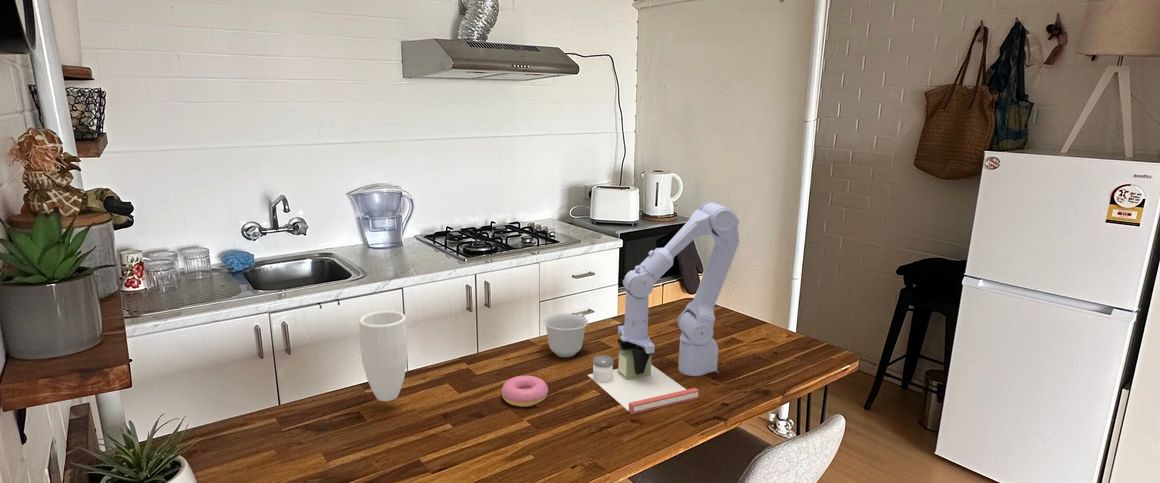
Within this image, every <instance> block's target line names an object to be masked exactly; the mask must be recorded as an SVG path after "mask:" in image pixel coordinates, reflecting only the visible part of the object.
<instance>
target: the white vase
mask: <svg viewBox="0 0 1160 483" xmlns="http://www.w3.org/2000/svg"><path fill="white" fill-rule="evenodd" d="M406 317H407V316H406V315H405V314H404V313H402V312H399V311H396V310H382V311H379V310H378V311H374V312H370V313H367V314H365V315H363V316H362V317H361V318H360V319H359V322H358V324H359V345H360V346H359V347H360V354H361V361H362V362H361V363H362V366H363V370H364V372H365V377H366V380H367V382H368V384H369V386H370V389H371V390H372V392H373V394H374V396H375V399H377V400H378V401H381V402H390V401H393V400H396V399H397V398H398V397H399V395H400V392H401V390H402V386H403V383H404V379H405V377H406V376H405V375H406V371H407V364H408V331H407V320H406Z"/></svg>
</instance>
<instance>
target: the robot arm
mask: <svg viewBox="0 0 1160 483" xmlns="http://www.w3.org/2000/svg"><path fill="white" fill-rule="evenodd" d="M739 223H740V219H739V218H738V216H737V215H736V213H735V211H734V210H733V209H731V208H729V207H727V206H724V205H721V204H720V203H717V202H716V201H715V200H713V201H712V200H709V201H705V202H703V203H702V204H701V205H700V206H699V208H697V209H695V211H693V213H692V215H691V216H690V218H689V219H688V220H687V221H686V222H685V224H684V225H683V226H682V227H681V228H680V229H679V230H678V231H677V232H676V233H675V234H674V236H673V237H672V238H671V239H670V240H669V241H668V243H666V245H664V247H656V248H655V249H654V250H653V249H651V250H650V251H648V256H647V257H645V259H644V260H642V262H641V263H640V264H639V265H638V264H637V265H636V266H634V269H633V270H629V271H628V272H627V273H626V274H625V275H624V279H622V285H623V287H624V288H625V300H624V301H625V302H624V303H625V304H624V325H618V327H617V334H618V335H621V336H620V338H618V339H617V344H618V345H619V347H620V349H621V350H627V349H631V352H632V354H633V358H634V367H635V373H636V374H637V375H638V374H643V373H644V371H645V368H646V364H647V362H648V359H649V357H650V356H651V354H652V355H653V353H655V348H656V345H655V344H654V343H653V341H651V339H650V337H649V334H648V325H649V303H650V302H649V298H650V297H649V295H651V294H652V292H653V289H654V285H655V284H656V283H657V281H658V280H659V279H661V277H663V275H664V274H665V273H666V272H667V271H669V270H670V269H671V267H673V265H674V259H675V257H676V256H678V254H680V252H682V251H683V250H684V249H685V248H687V246H688V245H689V244H690V243H692V242H693V241H694V240H695V239H696V238H697V237H700V236H709V235H711V237H712V239H713V240H714V246H713V247H712V250H711V253H710V256H709V259H708V262H707V264H706V267H705V269H704V271H703V274H702V277H701V280H700V282H699V285H698V286H697V289H696V292H695V295H694V298H693V300H690V302H689V303H687V304H686V307H685V309H684V310H683V311H682V312H681V313H680V314H679V315H678V318H677V325H678V326H677V327H678V328H679V330H680V331H681V334H680V335H679V336H680V337H679V352H678V354H679V355H678V371H679V373H681V374H683V375H685V376H690V377H691V376H692V377H699V376H700V377H702V376H704V375H706V374H709V373H714V372H716V373H718V374H720V373H719V371H718V358H719V347H718V344H717V342H716V339H714V338H713V336H714V332H715V331H714V324H715V321H716V317H715V311H714V310H715V309H714V308H715V305H716V303H717V301H718V298H719V295H720V293H721V290H722V288H723V285H724V282H725V280H726V278H727V275H728V273H729V270H730V268H731V264H732V262H733V260H734V258H735V254H736V252H737V249H738V247H739V244H740V237H739V229H738V228H739V227H738V226H739ZM621 350H620V351H621Z"/></svg>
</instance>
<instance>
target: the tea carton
mask: <svg viewBox="0 0 1160 483" xmlns="http://www.w3.org/2000/svg"><path fill="white" fill-rule="evenodd" d="M652 355H653V353H652V354H651V356H650V357H649V359H648V362H647V364H646V368H645V371H644V373H643V374H638V375H637V374H636V373H635V367H634V358H633V354H632V352H631V349H627V350H618V355H617V356H618V360H617V362H618V363H617V369H618V374H620V375H621V376H622V377H623V378H625V379H626V380H630V379H634V378H639V377H644V376H649V375H651V365H652V360H653V358H652Z"/></svg>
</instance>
